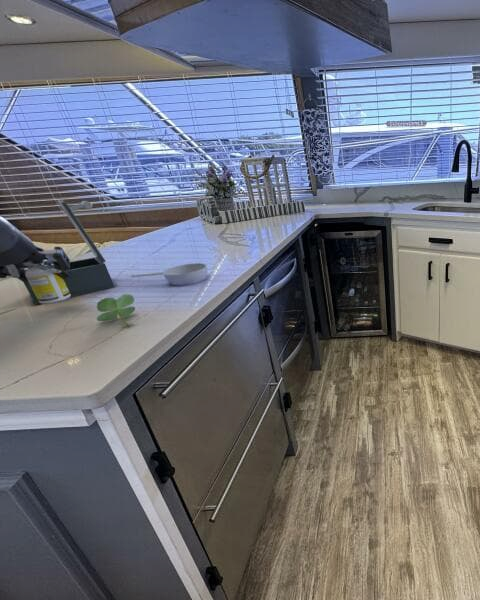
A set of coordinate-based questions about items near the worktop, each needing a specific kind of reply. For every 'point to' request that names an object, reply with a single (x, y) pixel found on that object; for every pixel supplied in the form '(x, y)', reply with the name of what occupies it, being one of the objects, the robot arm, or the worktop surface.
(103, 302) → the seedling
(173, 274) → the saucepan
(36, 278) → the supplement bottle
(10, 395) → the worktop surface
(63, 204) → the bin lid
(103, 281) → the bin
